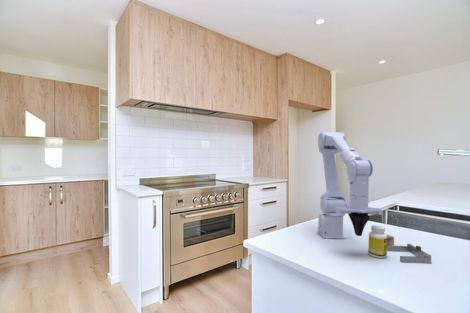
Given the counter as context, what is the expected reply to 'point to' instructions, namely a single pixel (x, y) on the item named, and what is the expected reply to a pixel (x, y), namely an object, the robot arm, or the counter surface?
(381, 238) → the supplement bottle
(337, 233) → the robot arm
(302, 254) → the counter surface
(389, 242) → the tan cardboard box
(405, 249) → the steel cradle
